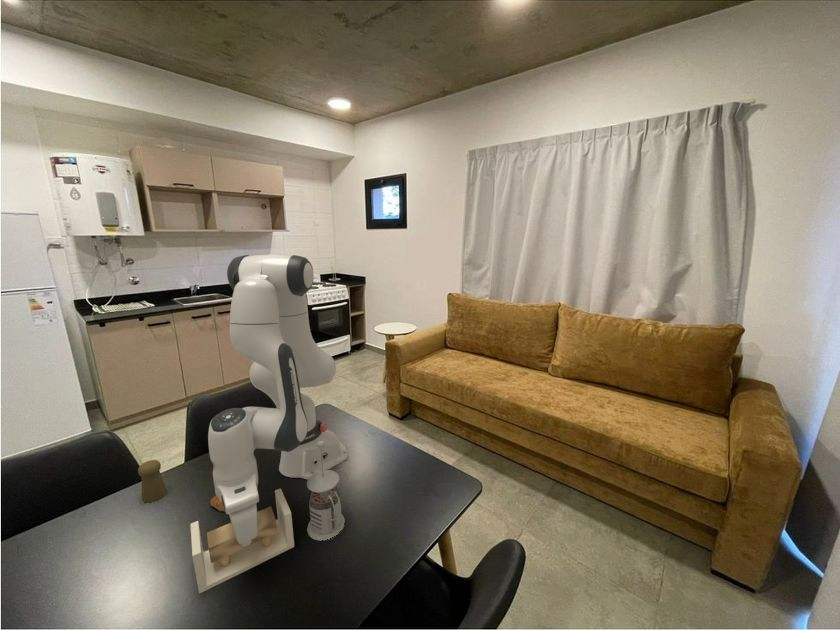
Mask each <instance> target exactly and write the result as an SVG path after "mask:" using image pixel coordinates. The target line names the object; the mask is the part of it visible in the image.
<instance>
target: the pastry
mask: <svg viewBox="0 0 840 630" xmlns="http://www.w3.org/2000/svg"><path fill="white" fill-rule="evenodd" d="M209 502H210V506H212V507H213V508H215V509H216V510H218V511H219V512H225V513H226V511H225V509H224V506H223V504H222V502H221V500H220V499H219V497H217V495H216V494H215V495H214V496H213V497H212V498H211V499H210V500H209Z"/></svg>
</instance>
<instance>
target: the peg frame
mask: <svg viewBox="0 0 840 630" xmlns="http://www.w3.org/2000/svg"><path fill="white" fill-rule="evenodd" d="M274 494H275V495H274V496H275V505H276V514H277V518H276V527H277V533H276V534H273V535H271V536H269V537H267V538H265V539H263V540H260V541H258V542H256V543H254V544H252V545H250V546H247V547H245V548H243V549H241V550H239V551H237V552H234V553H232V554H230V555H228V556H226V557H223V558H221V559H219V560H217V561H215V562H213V563H211V560H210V554H209V549H208V550H205V551H204V547H203V540H202V536H201V535H202V534H201V530H200V525H199V523H200V522H199V520H196V521H193V522H192V523H190V538H191V551H192V552H191V554H192V555H191V557H192V561H193V568H194V573H195V578H196V584H197V589H198V594H199V595H200V594H202V593H204V592H206V591H208V590H210V589H212V588H213V587H217V586H218V585H220V584H223V583H224V582H226V581H228V580H230V579H232V578H234V577H236V576H238V575H240V574H242V573H244V572H246V571H248V570H250V569H252V568H254V567H256V566H258V565H261V564H262V563H264V562H267V561H268V560H270V559H273V558H274V557H276V556H279V555H280V554H283V553H285V552H286V551H288V550H290V549H293V548H294V547H295V539H294V528H293V518H292V511H291V509H290V506H289V504H288V502H287V499H286V497H285V495H284V493H283V490H282V488H281V487H280V488H277V489H275V490H274Z"/></svg>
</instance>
